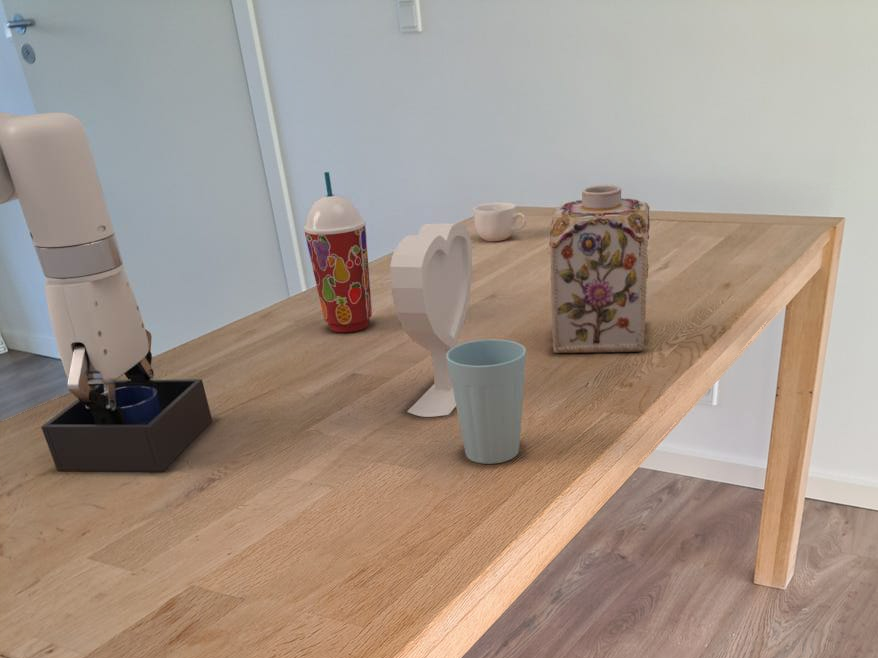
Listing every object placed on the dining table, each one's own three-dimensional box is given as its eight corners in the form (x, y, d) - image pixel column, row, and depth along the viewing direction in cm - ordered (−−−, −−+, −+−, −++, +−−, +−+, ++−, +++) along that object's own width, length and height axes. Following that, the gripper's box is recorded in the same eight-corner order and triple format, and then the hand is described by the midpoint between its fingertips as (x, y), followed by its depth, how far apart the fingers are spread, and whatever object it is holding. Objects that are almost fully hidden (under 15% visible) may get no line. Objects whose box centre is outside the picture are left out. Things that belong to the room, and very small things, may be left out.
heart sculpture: (442, 421, 101) (425, 249, 90) (400, 418, 103) (379, 248, 92) (485, 371, 113) (475, 214, 102) (447, 369, 114) (433, 214, 104)
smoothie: (387, 318, 133) (368, 166, 122) (363, 337, 127) (341, 178, 115) (336, 316, 136) (313, 167, 124) (310, 334, 130) (283, 179, 118)
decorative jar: (646, 323, 124) (651, 176, 113) (645, 353, 114) (651, 195, 104) (557, 325, 125) (554, 181, 115) (549, 354, 116) (546, 200, 106)
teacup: (467, 242, 168) (465, 210, 165) (486, 232, 173) (484, 201, 170) (517, 245, 164) (516, 212, 161) (534, 234, 169) (533, 203, 166)
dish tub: (57, 470, 97) (40, 426, 94) (115, 421, 108) (102, 380, 105) (163, 471, 95) (150, 426, 92) (212, 421, 106) (202, 379, 103)
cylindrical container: (92, 449, 99) (79, 409, 96) (122, 424, 104) (110, 385, 102) (151, 449, 98) (138, 409, 95) (177, 423, 103) (167, 385, 100)
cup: (536, 438, 96) (532, 338, 90) (522, 470, 90) (517, 366, 84) (465, 436, 97) (457, 338, 91) (447, 468, 92) (437, 365, 85)
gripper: (89, 238, 97) (138, 399, 108) (-5, 284, 84) (61, 463, 94) (154, 236, 96) (197, 399, 107) (70, 282, 82) (128, 464, 93)
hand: (133, 428), depth 100 cm, fingers closed on cylindrical container, 6 cm apart
